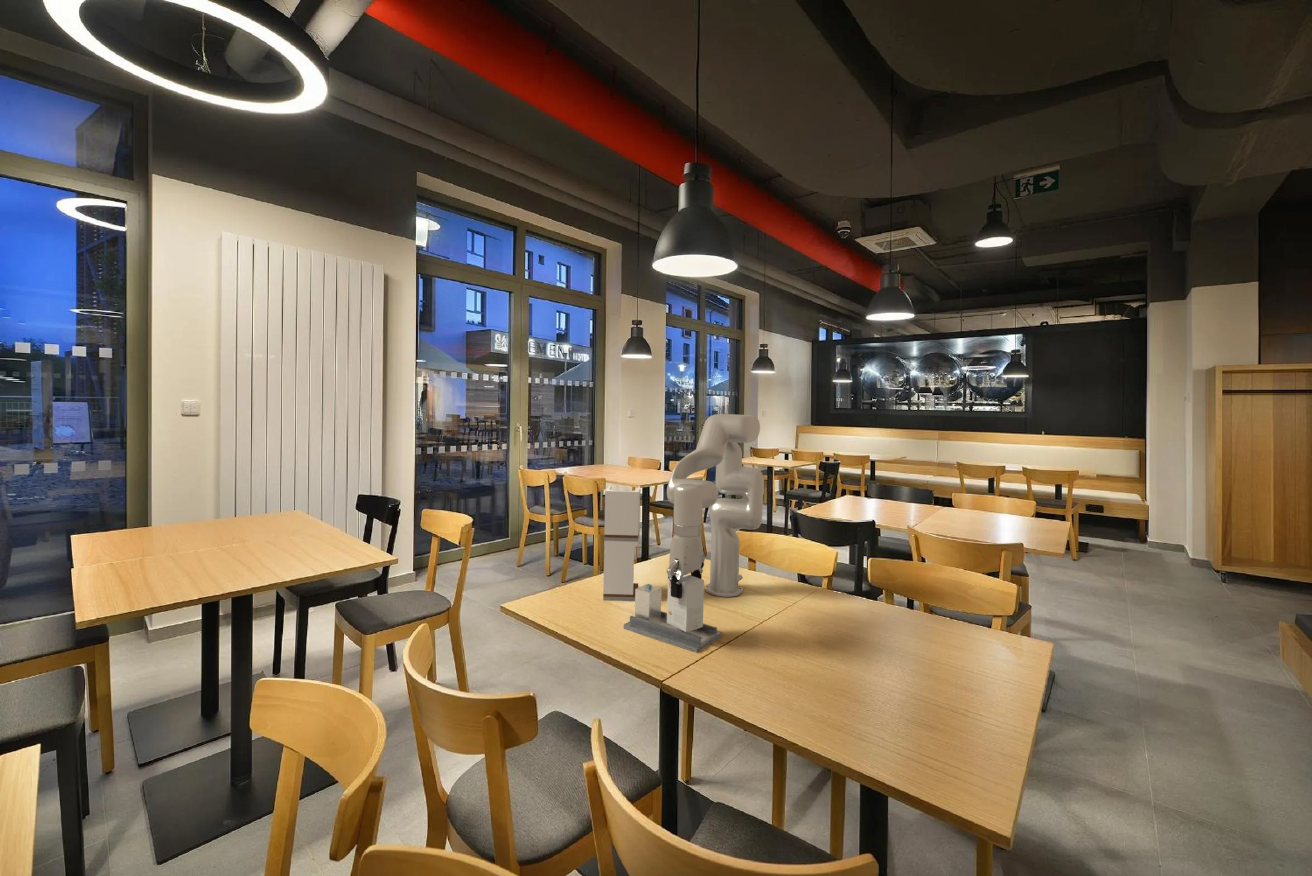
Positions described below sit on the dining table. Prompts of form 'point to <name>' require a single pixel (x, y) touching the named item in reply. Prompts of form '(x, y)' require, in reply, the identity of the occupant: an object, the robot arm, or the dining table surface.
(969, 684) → the dining table surface
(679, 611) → the small box
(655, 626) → the rail board
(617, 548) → the tall banded cabinet
